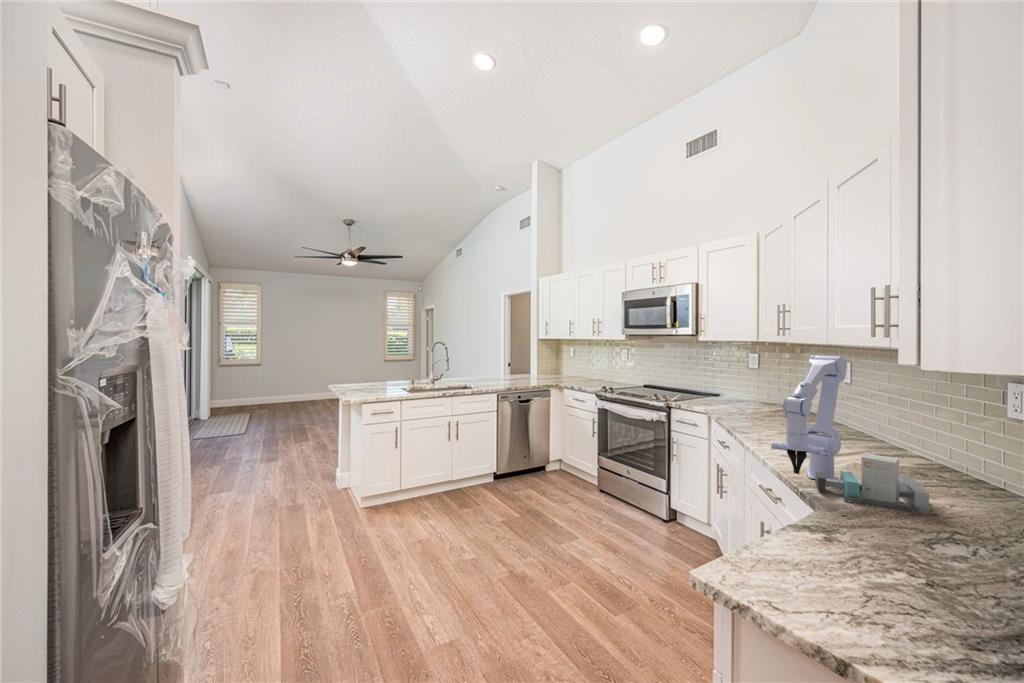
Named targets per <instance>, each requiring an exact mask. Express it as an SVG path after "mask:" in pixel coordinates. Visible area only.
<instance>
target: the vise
mask: <svg viewBox="0 0 1024 683" xmlns="http://www.w3.org/2000/svg"><path fill="white" fill-rule="evenodd" d="M859 491H862V484H860V483H859ZM899 497H901V499H902V500H903V501H904V502H905V503H900V502H898V503H893V502H886V501H879V500H873V499H866V498H862V497H860V496H859V497H853V496H846V495H844V494H843V495H842V498H843V499H844V500H846V501H851V502H850V503H852V502H856V503H855V504H858V503H861V504H860V505H865V504H868V505H867V506H871V505H873V506H872V507H878V508H883V509H884V508H885V509H890V510H899V511H904V512H911V513H917V514H923V513H924V515H930V493H929V492H928V491H927V490H926V489H925V488H923V486H921V485H920V484H919V483H918V482H917V480H915V479H914V478H913V477H912V476H902V475H899ZM843 499H842V500H843ZM844 500H843V501H844ZM846 501H845V502H846Z"/></svg>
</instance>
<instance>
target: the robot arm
mask: <svg viewBox="0 0 1024 683" xmlns="http://www.w3.org/2000/svg"><path fill="white" fill-rule="evenodd" d="M808 369H809V371H808V373H807V375H806V377H805V379H804V381H801V382H799V383H798V385H797V386H796V387H795V389H794V391H793V392H792V394H790V395H791V396H788V397H786V398H784V400H783V402H782V403H783V404H782V411H783V413H784V418H785V419H786V421H785V422H786V423H785V424H786V428H785V431H786V432H785V433H786V436H785V438H786V442H771V443H770V449H771V450H778V451H779V450H780V451H786V453H787V456H788V458H789V459H790V460H789V461H790V462H791V465H792V467H793V474H796V475H800V471H801V467H802V465H803V463H804V461H805V460H806V458H807V454H809V455H808V458H809V459H808V463H809V465H808V469H806V473H807V476H808V478H809V479H812V480H816V472H819V473H823V474H824V476H825V478H826V479H834V480H838V479H837V477H836V475H835V456H836V455H837V454H838V453H840V451H841V448H842V442H841V437H842V436H841V433H840V432H839V431H838V430H836V429H835V428H834V427H833V424H834V417H835V412H836V411H835V410H836V405H837V400H838V393H839V388H840V383H841V382H843V381H845V380H846V375H847V371H848V363H847V360H846V358H845V357H844V356H843V355H816V354H813V355H811V356H810V357H809V360H808ZM820 382H821V386H820V387H821V388H820V393H819V400H818V405H817V410H816V418H815V423H814V424H812V425H810V426H808V416H809V415H810V413H811V410H812V405H813V399H814V398H815V397H816V394H817V393H818V388H817V387H818V384H820Z"/></svg>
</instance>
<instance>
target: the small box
mask: <svg viewBox="0 0 1024 683" xmlns="http://www.w3.org/2000/svg"><path fill="white" fill-rule="evenodd" d="M860 460H861V485H862V490H861V498H866V499H873V500H879V501H886V502H893V503H899V501H900V496H899V476H900V459H899V458H895V457H889V456H884V455H883V456H882V455H876V454H870V453H865V454H864V455H862V456H861V459H860Z"/></svg>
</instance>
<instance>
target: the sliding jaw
mask: <svg viewBox="0 0 1024 683" xmlns="http://www.w3.org/2000/svg"><path fill="white" fill-rule="evenodd" d="M859 484H860V482H859V481H858V479H857V478H856V476H855V475H854V473H853V472H850V471H842V470H840V480H839V479H837V480H834V479H826V478H825V476H824V474H823V473H819V472H816V479H815V486H816V488H817V490H818V491H827V489H826V486H828V487H835V488H840V489H841V491H842V492H843V495H846V496H853V497H859V498H860V490H859Z"/></svg>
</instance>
